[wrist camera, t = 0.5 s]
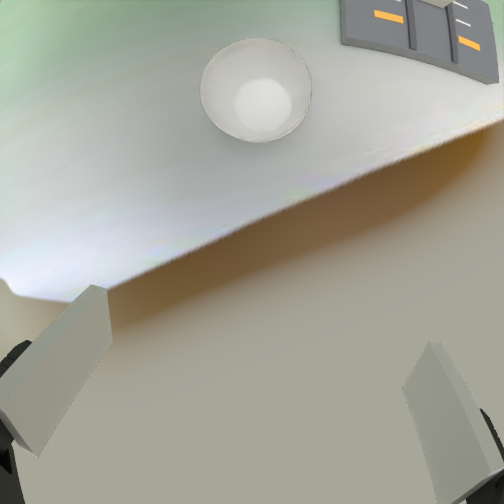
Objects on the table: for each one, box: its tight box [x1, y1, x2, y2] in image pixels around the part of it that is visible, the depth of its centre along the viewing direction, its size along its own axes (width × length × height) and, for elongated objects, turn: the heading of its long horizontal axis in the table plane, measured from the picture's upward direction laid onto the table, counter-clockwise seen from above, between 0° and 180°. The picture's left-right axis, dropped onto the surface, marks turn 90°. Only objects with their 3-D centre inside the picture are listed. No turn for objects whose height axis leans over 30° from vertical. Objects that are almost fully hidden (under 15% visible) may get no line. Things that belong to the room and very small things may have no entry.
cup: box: [200, 38, 312, 142], centre depth 26 cm, size 9×9×12 cm
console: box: [340, 0, 499, 84], centre depth 23 cm, size 13×22×4 cm, turn 89°
